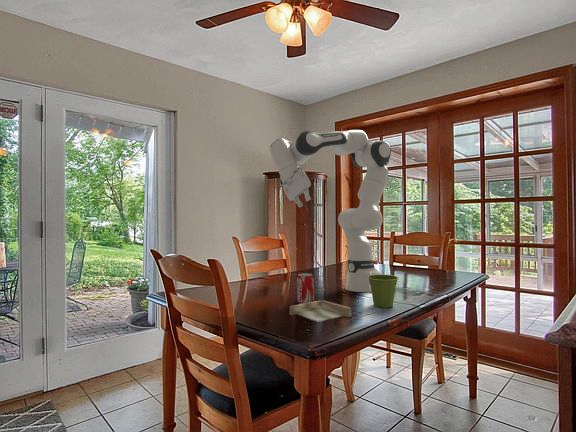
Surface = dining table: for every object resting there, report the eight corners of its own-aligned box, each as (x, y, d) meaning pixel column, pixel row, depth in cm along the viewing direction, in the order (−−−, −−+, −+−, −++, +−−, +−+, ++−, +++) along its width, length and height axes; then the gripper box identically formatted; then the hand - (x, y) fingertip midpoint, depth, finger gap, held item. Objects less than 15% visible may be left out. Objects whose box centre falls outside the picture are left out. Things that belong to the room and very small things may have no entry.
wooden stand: (322, 307, 136) (322, 299, 136) (351, 316, 124) (351, 307, 124) (289, 314, 127) (289, 306, 127) (317, 324, 115) (317, 315, 115)
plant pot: (361, 305, 139) (360, 276, 139) (381, 300, 146) (380, 273, 146) (385, 311, 130) (385, 280, 130) (405, 306, 137) (405, 277, 137)
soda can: (313, 306, 138) (312, 275, 138) (295, 305, 140) (295, 275, 140) (315, 302, 145) (315, 273, 145) (298, 301, 147) (298, 272, 147)
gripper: (305, 163, 143) (320, 193, 142) (290, 180, 162) (303, 207, 161) (292, 168, 141) (307, 199, 139) (278, 184, 160) (291, 212, 158)
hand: (304, 203), depth 150 cm, fingers open, 8 cm apart
